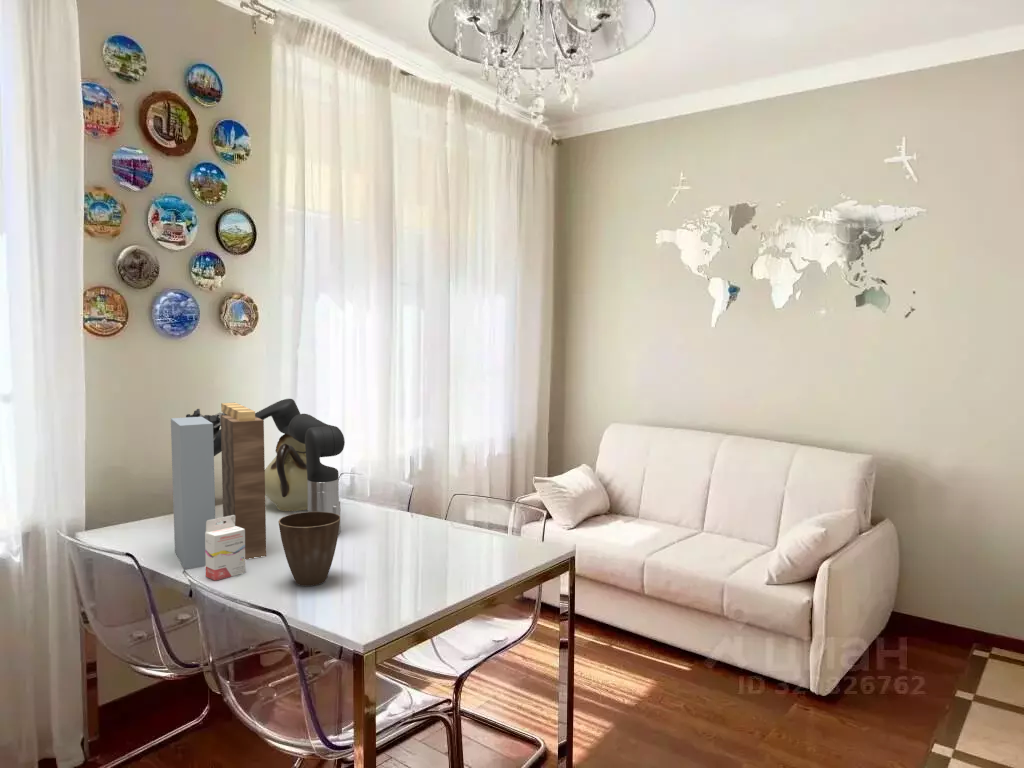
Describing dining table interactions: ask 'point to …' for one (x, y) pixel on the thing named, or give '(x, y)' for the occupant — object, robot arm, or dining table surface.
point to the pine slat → (238, 411)
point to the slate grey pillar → (192, 487)
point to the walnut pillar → (245, 480)
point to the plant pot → (309, 545)
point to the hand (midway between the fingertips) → (213, 410)
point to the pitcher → (288, 476)
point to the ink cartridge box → (224, 548)
